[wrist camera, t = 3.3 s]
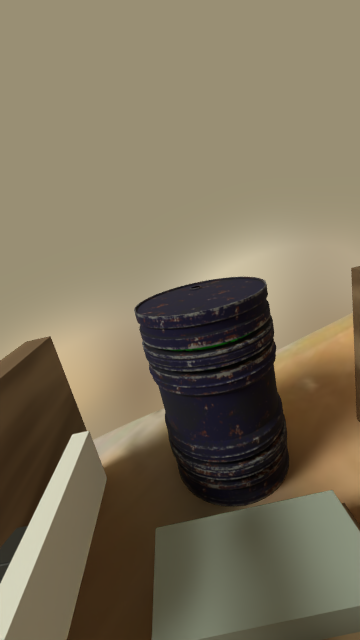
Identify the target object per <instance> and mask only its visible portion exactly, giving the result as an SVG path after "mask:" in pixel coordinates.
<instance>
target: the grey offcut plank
mask: <svg viewBox="0 0 360 640" xmlns="http://www.w3.org/2000/svg"><path fill="white" fill-rule="evenodd" d="M356 632H360V531H359V530H358V528H357V527H356V525H355V524H354V522H353V521H352V519H351V518H350V516H349V515H348V513H347V512H346V510H345V508H344V507H343V505H342V504H341V502H340V501H339V499H338V498H337V496H336V495H335V493H334V492H333V490H329V491H325V492H320V493H315V494H311V495H306V496H302V497H297V498H292V499H288V500H283V501H278V502H274V503H269V504H265V505H260V506H255V507H251V508H246V509H241V510H237V511H232V512H227V513H223V514H218V515H214V516H209V517H204V518H200V519H195V520H190V521H186V522H181V523H176V524H172V525H167V526H163V527H158V528H156V536H155V564H154V592H153V620H152V640H322V639H327V638H332V637H337V636H342V635H347V634H351V633H356Z"/></svg>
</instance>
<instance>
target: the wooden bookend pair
mask: <svg viewBox="0 0 360 640" xmlns="http://www.w3.org/2000/svg"><path fill="white" fill-rule="evenodd" d="M351 271H352V297H353V324H354V351H355V378H356V405H357V419H358V420H359V421H360V266H358V267H354V268H352V270H351ZM86 431H87V430H86V427H85V425H84V422H83V420H82V417H81V414H80V412H79V409H78V407H77V404H76V401H75V399H74V396H73V394H72V391H71V389H70V386H69V383H68V381H67V378H66V375H65V373H64V370H63V368H62V365H61V363H60V360H59V358H58V355H57V352H56V350H55V347H54V345H53V342H52V339H51V337H46V338H41V339H36V340H32V341H27V342H25V343H24V344H22V345H21V346H20V347H18V348H17V349H15V350H14V351H13V352H11V353H10V354H9V355H7V356H6V357H5V358H3V359H2V360H0V548H1V546H2V545H3V544H4V543H5V541H6V540H7V539H8V538H9V537H10V535H11V534H12V533H13V532H14V531H15V529H16V528H19V527H24V526H28V525H29V523H30V521H31V519H32V517H33V515H34V513H35V511H36V509H37V507H38V504H39V502H40V500H41V498H42V496H43V494H44V492H45V490H46V488H47V486H48V484H49V482H50V480H51V478H52V475H53V473H54V471H55V469H56V467H57V465H58V463H59V461H60V459H61V457H62V455H63V453H64V451H65V449H66V446H67V444H68V442H69V440H70V438H71V436H72V434H77V433H81V432H86Z"/></svg>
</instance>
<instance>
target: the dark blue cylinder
mask: <svg viewBox="0 0 360 640" xmlns="http://www.w3.org/2000/svg"><path fill="white" fill-rule="evenodd" d="M267 295H268V293H267V285H266V282H265V281H264V280H263V279H260V278H255V277H230V278H221V279H214V280H208V281H202V282H198V283H193V284H189V285H184V286H181V287H177V288H174V289H170V290H168V291H165V292H162V293H159V294H156V295H154V296H152V297H149V298H148V299H146V300H144V301H142V302H140V303H139V304H138V305H137V306H136V307H135V309H134V311H135V315H136V318H137V321H138V323H139V324H140V332H141V336H142V339H143V342H142V344H143V348H144V352H145V355H146V358H147V360H148V361H149V370H150V373H151V374H152V376H153V379H154V381H155V382H156V383H157V385H158V386H159V389H160V393H161V397H162V400H163V404H164V408H165V411H166V413H165V422H166V426H167V429H168V435H169V441H170V445H171V448H172V451H173V454H174V456H175V458H176V461H177V463H178V468H179V472H180V475H181V478H182V480H183V482H184V484H185V485H186V486H187V488H188V489H189V490H190V491H191V492H192V493H193V494H195V495H196V496H197V497H199V498H201V499H202V500H204V501H207V502H209V503H212V504H216V505H221V506H243V505H248V504H252V503H255V502H257V501H260V500H262V499H264V498H266V497H267V496H269V495H270V494H272V493H273V492H274V491H275V490H276V489H277V488H278V487H279V486H280V484H281V483H282V482H283V480H284V478H285V476H286V474H287V471H288V467H289V455H288V449H287V428H286V421H285V416H284V414H283V408H282V402H281V398H280V396H279V394H278V392H277V387H276V379H275V372H274V361H275V357H276V354H275V352H276V345H275V342H274V339H273V337H274V328H273V320H272V317H271V315H270V308H269V303H268V301H267V300H266V298H267Z"/></svg>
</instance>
